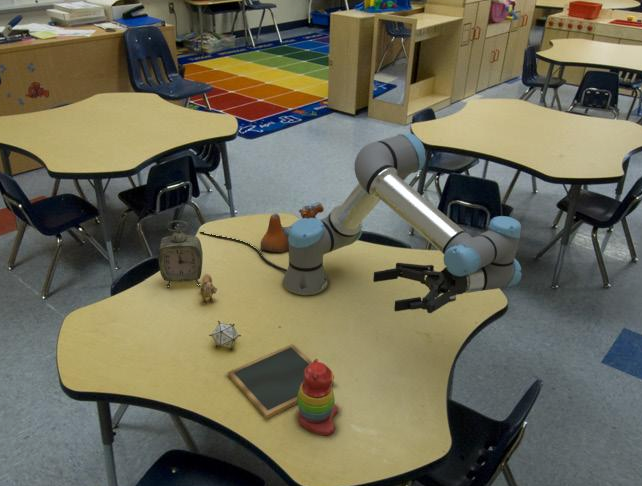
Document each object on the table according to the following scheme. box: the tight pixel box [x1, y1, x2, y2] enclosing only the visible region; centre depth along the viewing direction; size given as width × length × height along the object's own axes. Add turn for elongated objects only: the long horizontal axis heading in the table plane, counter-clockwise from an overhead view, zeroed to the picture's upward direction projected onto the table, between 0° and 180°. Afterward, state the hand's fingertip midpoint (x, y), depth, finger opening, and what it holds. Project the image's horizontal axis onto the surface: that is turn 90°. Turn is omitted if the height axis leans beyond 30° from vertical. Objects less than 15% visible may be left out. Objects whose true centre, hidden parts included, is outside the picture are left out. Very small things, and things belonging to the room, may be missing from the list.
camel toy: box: [260, 201, 325, 253], centre depth 224 cm, size 25×13×17 cm, turn 89°
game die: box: [208, 320, 242, 351], centre depth 175 cm, size 9×8×10 cm
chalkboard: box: [227, 343, 334, 420], centre depth 163 cm, size 20×22×2 cm
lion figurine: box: [200, 274, 218, 305], centre depth 197 cm, size 15×5×9 cm, turn 14°
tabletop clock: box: [157, 220, 204, 289], centre depth 201 cm, size 14×9×25 cm, turn 93°
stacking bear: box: [297, 358, 339, 436], centre depth 146 cm, size 11×10×18 cm
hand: (384, 291), depth 147 cm, fingers open, 13 cm apart
